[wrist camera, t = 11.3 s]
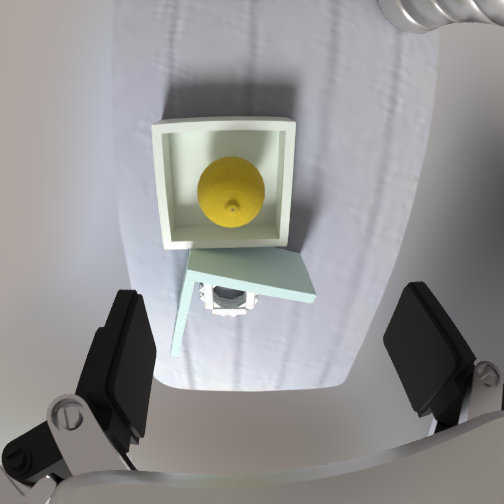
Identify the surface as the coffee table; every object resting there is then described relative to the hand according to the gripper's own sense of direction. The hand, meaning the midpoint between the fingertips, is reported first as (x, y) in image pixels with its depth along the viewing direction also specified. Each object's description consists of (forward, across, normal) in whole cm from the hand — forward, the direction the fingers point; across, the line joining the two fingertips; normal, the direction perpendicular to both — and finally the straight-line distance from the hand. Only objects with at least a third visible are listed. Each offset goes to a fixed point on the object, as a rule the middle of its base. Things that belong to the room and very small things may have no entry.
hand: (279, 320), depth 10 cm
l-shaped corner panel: (+21, +1, +15) cm, 26 cm away
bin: (+21, +2, +2) cm, 21 cm away
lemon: (+20, +1, +2) cm, 20 cm away
